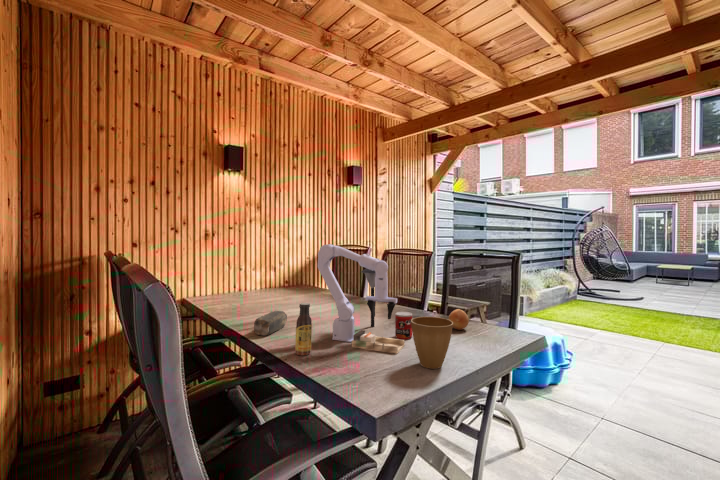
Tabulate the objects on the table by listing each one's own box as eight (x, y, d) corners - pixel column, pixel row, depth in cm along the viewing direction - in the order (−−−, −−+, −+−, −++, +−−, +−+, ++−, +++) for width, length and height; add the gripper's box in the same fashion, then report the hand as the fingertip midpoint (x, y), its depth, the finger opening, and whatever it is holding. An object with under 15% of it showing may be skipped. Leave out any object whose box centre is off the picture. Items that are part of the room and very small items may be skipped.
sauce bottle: (298, 357, 130) (297, 305, 130) (293, 352, 135) (293, 303, 135) (314, 354, 133) (314, 304, 133) (308, 349, 138) (308, 301, 138)
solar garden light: (358, 329, 169) (358, 269, 168) (362, 323, 181) (362, 267, 180) (383, 330, 167) (383, 269, 166) (385, 324, 179) (385, 267, 178)
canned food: (393, 338, 153) (393, 314, 153) (398, 334, 161) (398, 311, 160) (409, 340, 150) (409, 316, 150) (413, 335, 158) (414, 312, 158)
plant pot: (445, 376, 112) (445, 328, 112) (404, 367, 120) (404, 322, 120) (458, 362, 124) (458, 319, 124) (420, 355, 132) (420, 314, 132)
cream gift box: (359, 344, 143) (359, 335, 143) (365, 340, 148) (365, 331, 148) (370, 345, 141) (370, 336, 141) (375, 341, 146) (375, 332, 146)
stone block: (287, 327, 176) (268, 325, 177) (288, 310, 176) (269, 308, 177) (272, 338, 156) (251, 335, 157) (273, 319, 156) (252, 317, 157)
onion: (445, 327, 173) (445, 307, 173) (463, 326, 174) (464, 307, 174) (452, 332, 163) (452, 311, 163) (472, 331, 164) (472, 311, 164)
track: (351, 346, 142) (351, 335, 142) (361, 340, 151) (361, 329, 151) (397, 353, 134) (397, 341, 134) (404, 346, 143) (404, 334, 143)
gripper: (362, 287, 151) (362, 318, 151) (393, 290, 145) (393, 321, 145) (369, 285, 157) (369, 314, 157) (398, 287, 151) (398, 318, 151)
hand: (381, 317), depth 151 cm, fingers open, 7 cm apart
